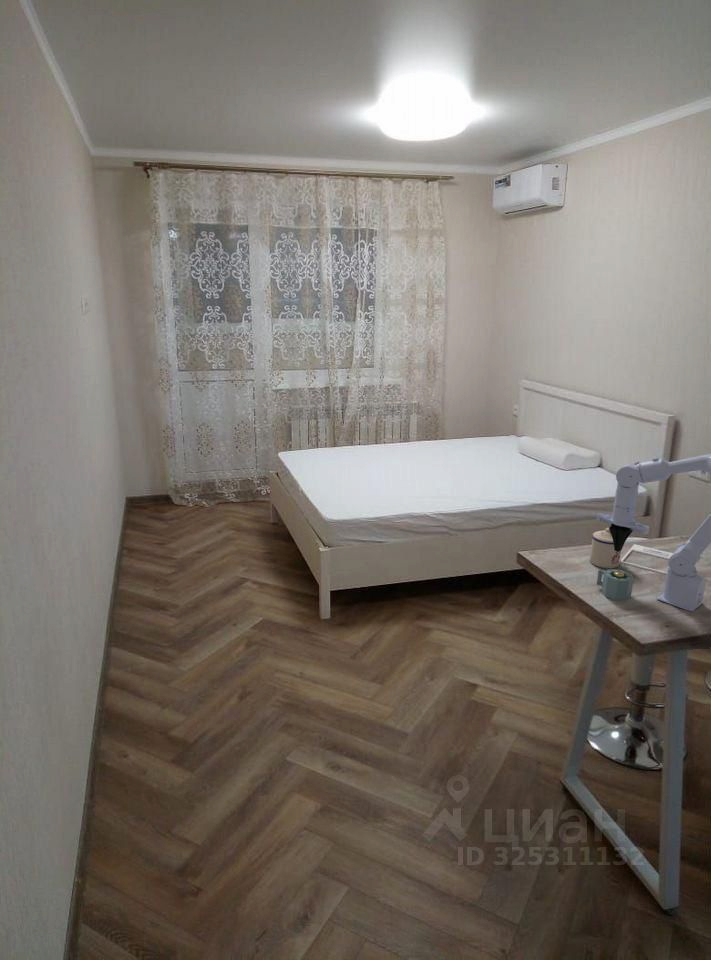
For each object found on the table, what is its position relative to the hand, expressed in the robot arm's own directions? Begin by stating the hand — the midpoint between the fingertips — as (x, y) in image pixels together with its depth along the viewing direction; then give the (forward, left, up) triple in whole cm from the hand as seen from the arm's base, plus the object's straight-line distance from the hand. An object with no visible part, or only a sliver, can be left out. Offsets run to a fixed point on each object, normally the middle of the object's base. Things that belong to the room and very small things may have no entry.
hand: (618, 550), depth 185 cm
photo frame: (0, -26, -11) cm, 28 cm away
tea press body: (-3, +6, -10) cm, 13 cm away
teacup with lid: (+9, -13, -11) cm, 19 cm away
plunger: (-4, +6, -9) cm, 12 cm away
